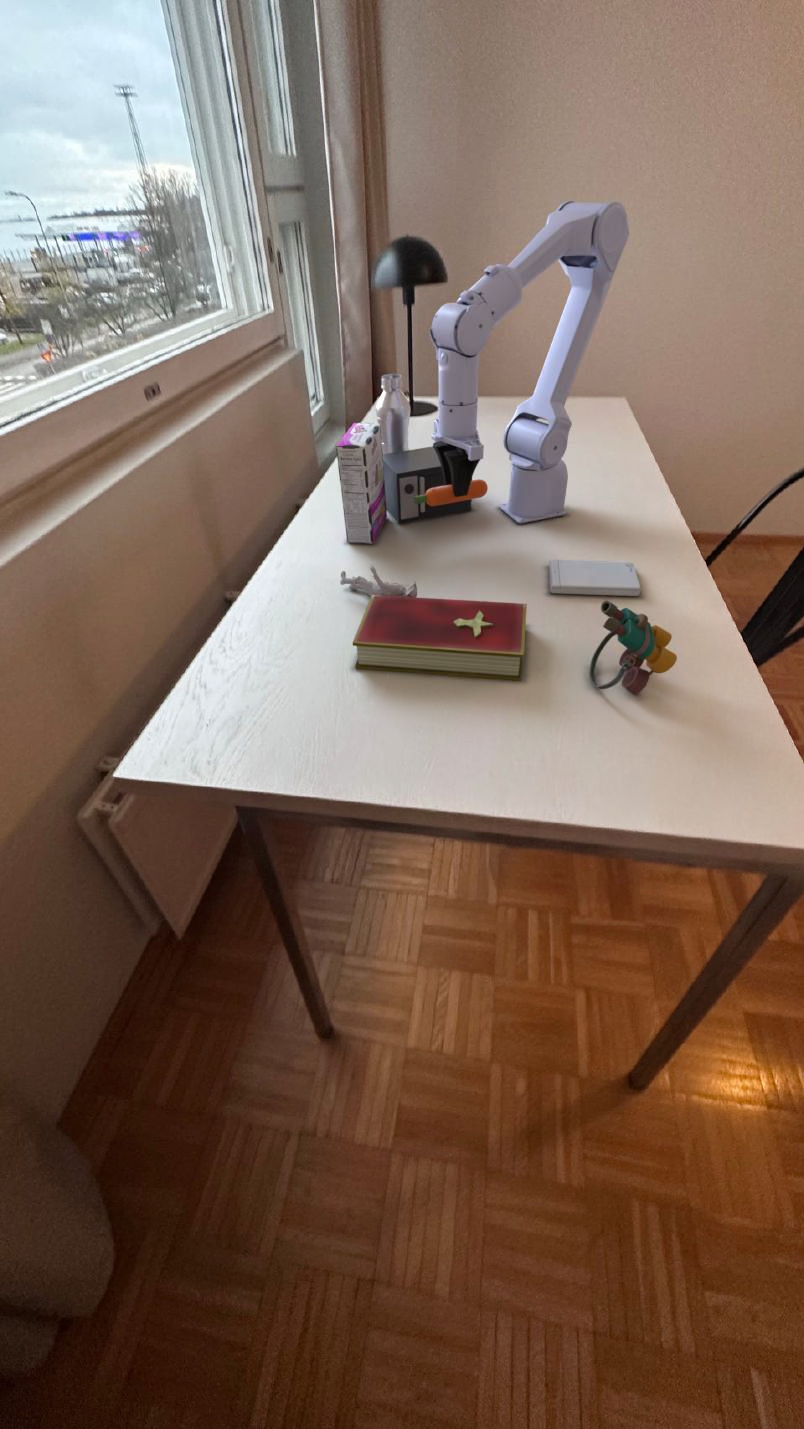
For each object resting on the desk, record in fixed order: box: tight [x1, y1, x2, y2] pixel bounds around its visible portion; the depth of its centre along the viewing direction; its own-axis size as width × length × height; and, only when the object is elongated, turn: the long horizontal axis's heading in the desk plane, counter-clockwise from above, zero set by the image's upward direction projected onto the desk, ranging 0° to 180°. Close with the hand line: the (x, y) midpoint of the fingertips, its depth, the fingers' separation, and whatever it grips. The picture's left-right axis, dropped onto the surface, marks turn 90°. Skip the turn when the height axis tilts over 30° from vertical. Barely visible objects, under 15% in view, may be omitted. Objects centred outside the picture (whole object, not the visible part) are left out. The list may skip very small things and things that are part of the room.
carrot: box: [414, 478, 489, 506], centre depth 102 cm, size 12×3×3 cm, turn 109°
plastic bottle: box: [375, 373, 411, 454], centre depth 119 cm, size 6×7×20 cm
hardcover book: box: [352, 595, 528, 682], centre depth 82 cm, size 12×21×4 cm, turn 80°
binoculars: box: [589, 600, 678, 695], centre depth 74 cm, size 9×9×10 cm
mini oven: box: [383, 445, 473, 525], centre depth 114 cm, size 11×14×9 cm
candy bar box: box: [335, 422, 388, 545], centre depth 106 cm, size 11×5×16 cm, turn 168°
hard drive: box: [548, 559, 641, 597], centre depth 94 cm, size 2×8×12 cm
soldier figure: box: [339, 564, 418, 598], centre depth 92 cm, size 8×5×12 cm
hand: (456, 491), depth 102 cm, fingers closed on carrot, 3 cm apart
